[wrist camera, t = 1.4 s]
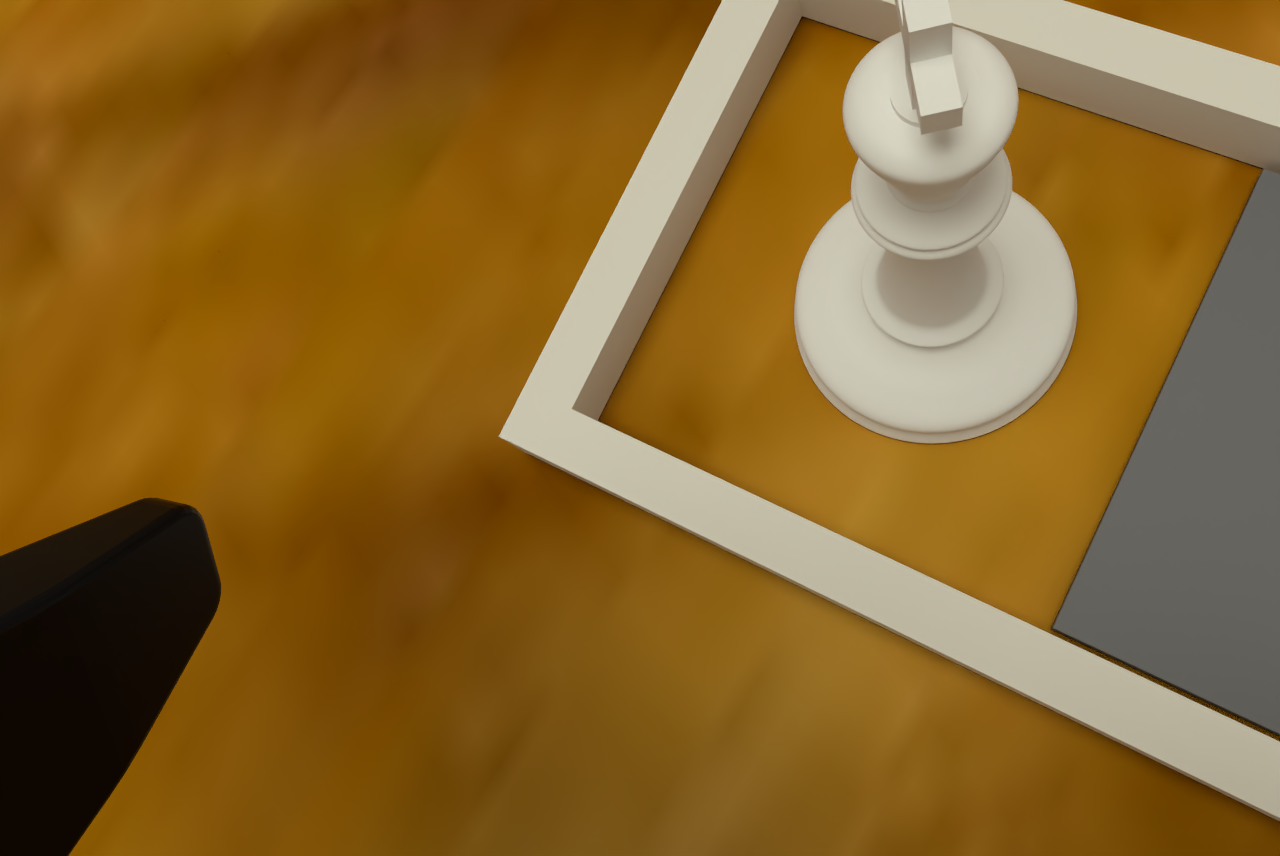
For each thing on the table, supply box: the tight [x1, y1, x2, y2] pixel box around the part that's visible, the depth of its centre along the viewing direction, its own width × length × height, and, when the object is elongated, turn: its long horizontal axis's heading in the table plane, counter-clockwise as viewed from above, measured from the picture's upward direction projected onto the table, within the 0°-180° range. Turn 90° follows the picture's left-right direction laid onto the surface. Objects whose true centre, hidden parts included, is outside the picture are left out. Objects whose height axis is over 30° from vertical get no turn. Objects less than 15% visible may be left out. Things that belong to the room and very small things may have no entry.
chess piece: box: [794, 0, 1077, 444], centre depth 17 cm, size 5×5×10 cm
